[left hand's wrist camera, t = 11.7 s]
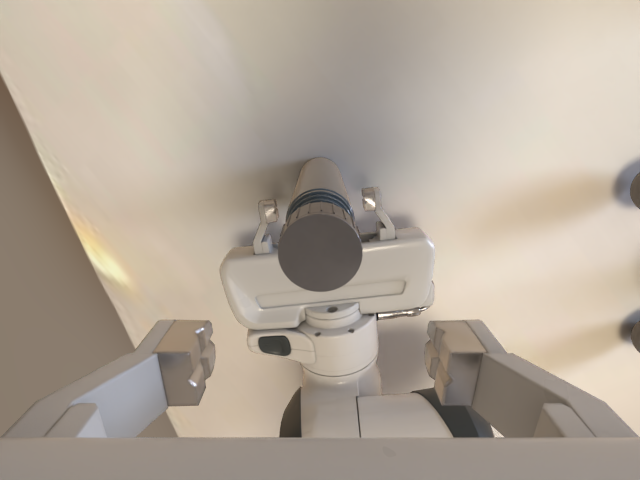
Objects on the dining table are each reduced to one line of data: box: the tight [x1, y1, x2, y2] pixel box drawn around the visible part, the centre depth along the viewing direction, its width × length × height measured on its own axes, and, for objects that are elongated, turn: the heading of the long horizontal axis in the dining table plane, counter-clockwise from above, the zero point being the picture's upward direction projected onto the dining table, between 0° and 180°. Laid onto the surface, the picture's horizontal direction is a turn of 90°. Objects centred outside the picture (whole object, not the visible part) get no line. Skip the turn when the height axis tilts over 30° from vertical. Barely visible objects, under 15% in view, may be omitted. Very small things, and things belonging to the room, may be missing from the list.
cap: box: [278, 201, 363, 292], centre depth 18 cm, size 4×4×2 cm
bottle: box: [286, 157, 355, 223], centre depth 27 cm, size 4×4×20 cm
